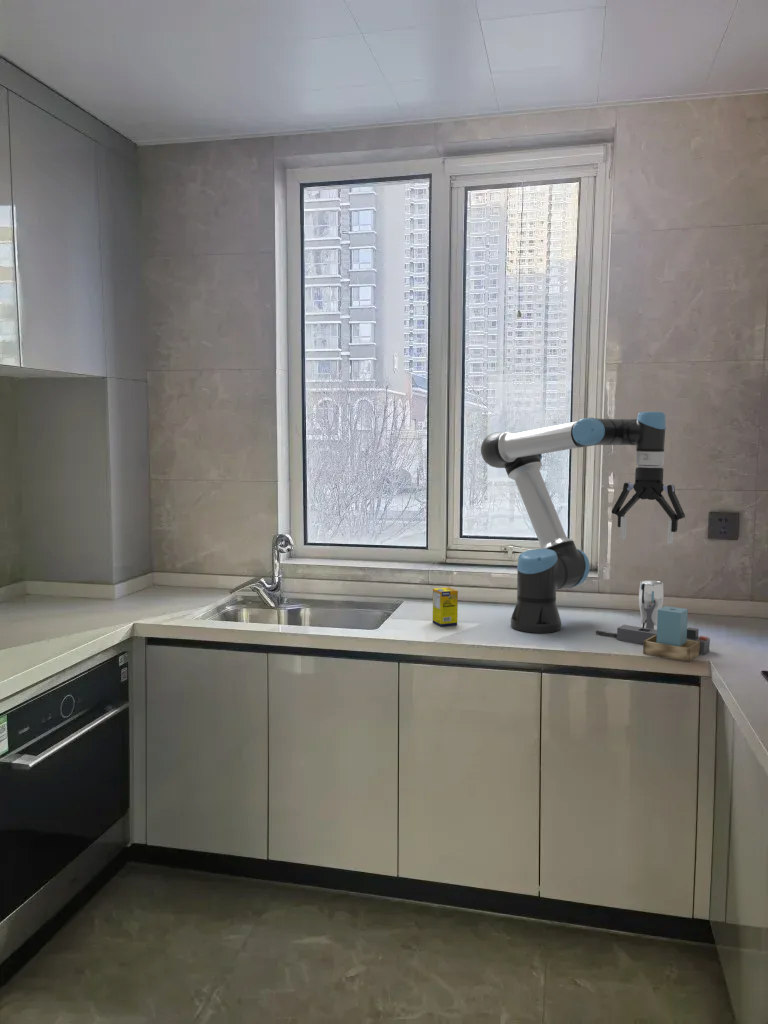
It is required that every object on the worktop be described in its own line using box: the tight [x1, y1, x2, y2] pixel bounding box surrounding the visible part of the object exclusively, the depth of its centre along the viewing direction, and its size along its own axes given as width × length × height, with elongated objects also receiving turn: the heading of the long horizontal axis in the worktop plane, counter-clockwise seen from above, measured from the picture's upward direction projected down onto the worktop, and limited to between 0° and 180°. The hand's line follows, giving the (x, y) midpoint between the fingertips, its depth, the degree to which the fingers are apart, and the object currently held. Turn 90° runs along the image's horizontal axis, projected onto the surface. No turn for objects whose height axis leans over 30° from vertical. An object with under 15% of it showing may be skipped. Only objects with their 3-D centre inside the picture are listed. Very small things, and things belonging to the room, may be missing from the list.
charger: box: [656, 605, 689, 647], centre depth 205 cm, size 6×6×12 cm
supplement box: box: [432, 587, 459, 627], centre depth 238 cm, size 6×6×11 cm
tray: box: [642, 635, 701, 663], centre depth 205 cm, size 12×9×4 cm
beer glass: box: [638, 579, 664, 630], centre depth 229 cm, size 7×7×15 cm
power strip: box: [595, 624, 711, 656], centre depth 216 cm, size 32×5×6 cm, turn 52°
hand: (646, 541), depth 219 cm, fingers open, 13 cm apart
